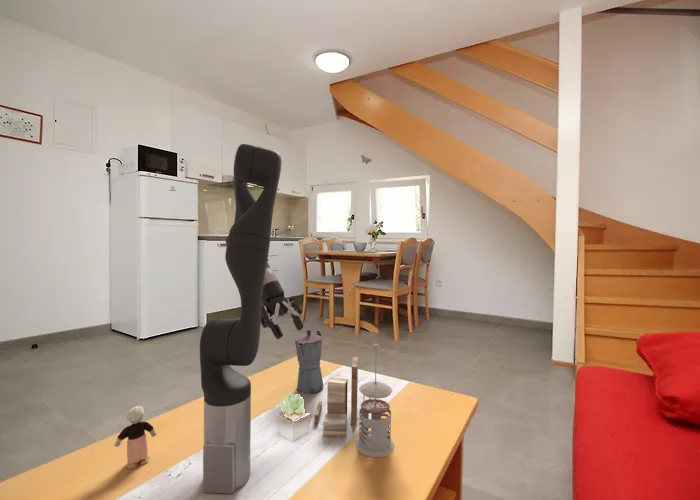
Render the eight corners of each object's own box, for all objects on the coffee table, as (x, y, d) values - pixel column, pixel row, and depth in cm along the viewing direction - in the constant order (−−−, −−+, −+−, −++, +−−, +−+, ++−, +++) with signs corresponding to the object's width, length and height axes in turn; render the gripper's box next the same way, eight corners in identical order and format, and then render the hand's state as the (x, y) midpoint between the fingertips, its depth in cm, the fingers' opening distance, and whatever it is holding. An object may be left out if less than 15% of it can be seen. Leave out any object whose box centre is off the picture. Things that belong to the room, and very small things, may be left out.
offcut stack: (346, 436, 86) (346, 422, 86) (322, 435, 86) (323, 421, 86) (347, 427, 90) (347, 414, 90) (324, 426, 91) (325, 413, 91)
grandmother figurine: (151, 452, 79) (151, 398, 78) (157, 459, 76) (157, 403, 76) (112, 468, 73) (112, 410, 72) (118, 476, 70) (118, 416, 70)
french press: (361, 460, 77) (363, 351, 76) (348, 432, 88) (349, 337, 87) (401, 453, 79) (403, 348, 79) (383, 427, 91) (384, 335, 90)
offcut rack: (356, 425, 91) (357, 367, 91) (314, 424, 92) (315, 365, 91) (357, 410, 99) (357, 357, 99) (318, 409, 100) (319, 356, 99)
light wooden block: (344, 423, 92) (345, 383, 92) (327, 420, 94) (327, 381, 93) (347, 417, 95) (347, 379, 95) (330, 415, 96) (330, 377, 96)
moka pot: (286, 395, 109) (287, 333, 109) (306, 377, 124) (307, 323, 123) (314, 399, 106) (314, 336, 106) (330, 380, 121) (331, 325, 121)
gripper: (254, 283, 95) (280, 335, 90) (290, 276, 106) (314, 321, 102) (241, 296, 98) (265, 346, 94) (277, 287, 110) (300, 331, 106)
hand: (291, 333), depth 98 cm, fingers open, 8 cm apart
